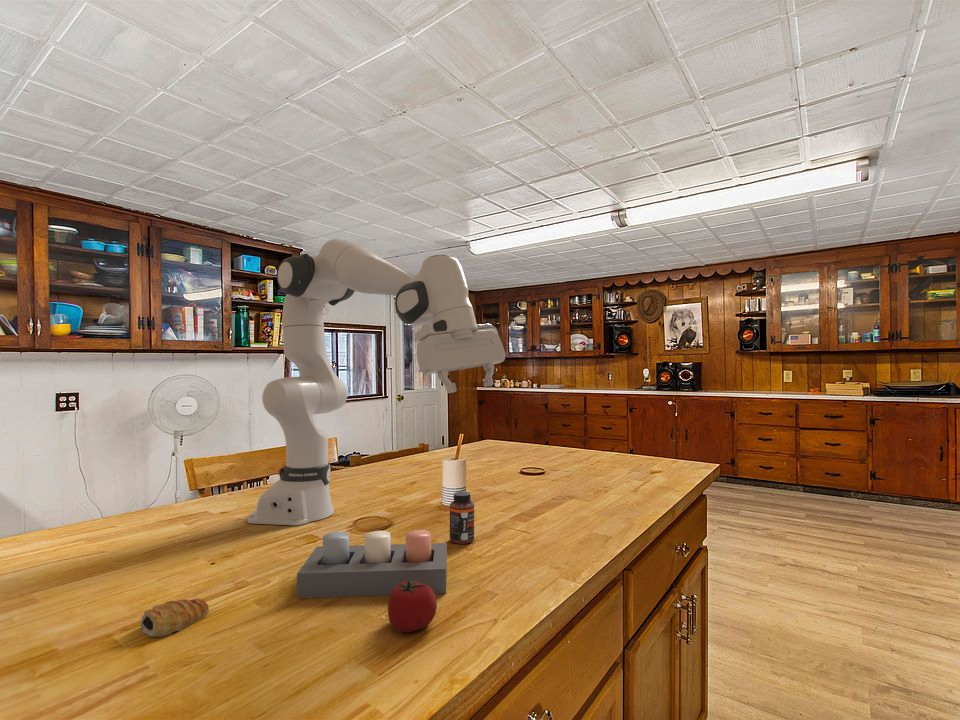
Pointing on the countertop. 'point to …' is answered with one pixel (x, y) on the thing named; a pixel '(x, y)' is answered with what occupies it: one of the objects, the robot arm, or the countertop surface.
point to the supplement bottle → (462, 518)
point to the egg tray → (370, 573)
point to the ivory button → (377, 547)
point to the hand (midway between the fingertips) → (470, 388)
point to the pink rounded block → (418, 546)
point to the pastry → (172, 616)
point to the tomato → (411, 606)
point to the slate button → (336, 548)
